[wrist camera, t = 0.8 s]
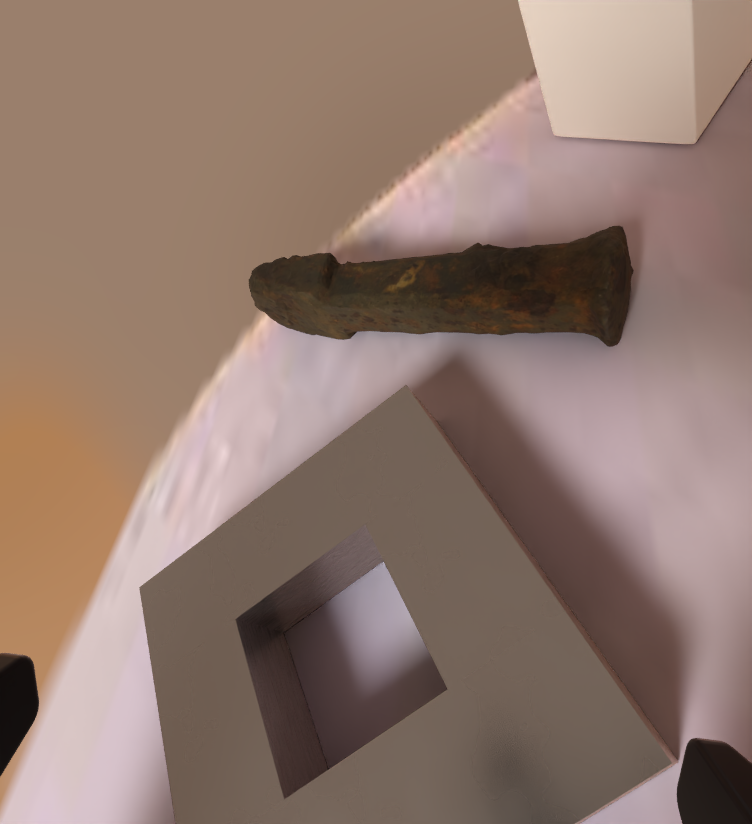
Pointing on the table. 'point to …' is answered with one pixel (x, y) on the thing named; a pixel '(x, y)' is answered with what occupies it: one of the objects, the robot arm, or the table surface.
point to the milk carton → (637, 64)
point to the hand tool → (456, 291)
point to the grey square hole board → (439, 628)
